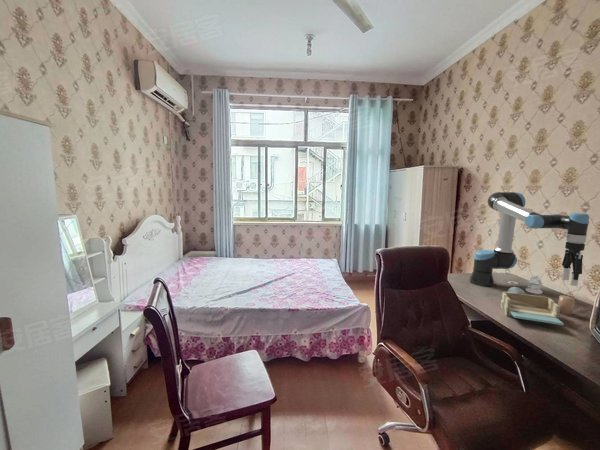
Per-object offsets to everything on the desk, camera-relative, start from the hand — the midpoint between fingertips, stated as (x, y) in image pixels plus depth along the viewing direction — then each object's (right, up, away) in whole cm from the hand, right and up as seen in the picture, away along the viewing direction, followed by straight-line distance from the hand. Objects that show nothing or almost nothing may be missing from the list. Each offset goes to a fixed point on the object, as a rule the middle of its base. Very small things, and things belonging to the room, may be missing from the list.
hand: (569, 282), depth 160 cm
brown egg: (0, -17, +3) cm, 18 cm away
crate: (-23, -17, 0) cm, 29 cm away
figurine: (+8, -13, +35) cm, 38 cm away
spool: (-16, -15, +18) cm, 29 cm away
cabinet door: (-26, -16, -8) cm, 31 cm away
